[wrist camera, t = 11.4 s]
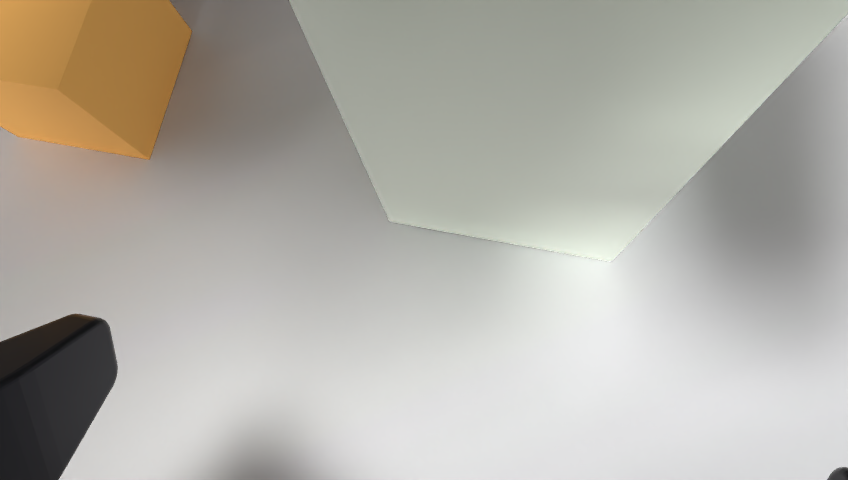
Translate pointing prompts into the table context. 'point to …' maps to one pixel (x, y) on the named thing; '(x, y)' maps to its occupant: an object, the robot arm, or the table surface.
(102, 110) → the orange block
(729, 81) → the pale green box
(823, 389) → the table surface
